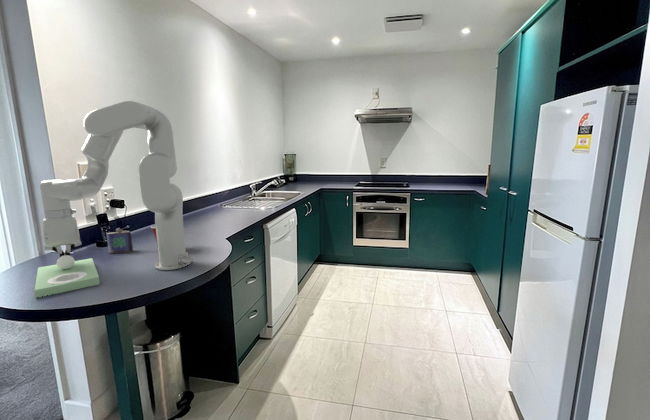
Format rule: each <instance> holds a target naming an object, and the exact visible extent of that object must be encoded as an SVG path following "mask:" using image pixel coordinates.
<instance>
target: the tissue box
mask: <svg viewBox="0 0 650 420" xmlns="http://www.w3.org/2000/svg"><path fill="white" fill-rule="evenodd" d="M99 285H101V281H100V275H99V274H98V270H97V267H96V265H95V262H94V260H93V258H92V257H91V258H86V259H85V258H84V259H78V260H75V263H74V265H73V266H72V267H71V268H69V269H60V268H59V267H58V266H57V263H56V264H52V265H51V264H50V265H46V266H38V267H37V272H36V280H35V286H34V294H35V295H34V296H35V298H36V299H38V298H37V297H39V298H43V297H48V296H53V295H56V294H61V293H65V292H66V293H67V292H70V291H75V290H79V289H84V288H89V287H93V286H99ZM52 294H53V295H52ZM47 295H48V296H47ZM42 296H43V297H42Z"/></svg>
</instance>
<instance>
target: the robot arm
mask: <svg viewBox="0 0 650 420" xmlns="http://www.w3.org/2000/svg"><path fill="white" fill-rule="evenodd" d="M82 125H83V128H84V130H85V131H86V132H87V133H88V135H87V138H86V139H85V142H84V144H83V146H82V147H81V152H82V154H83V155H84V156H85V157H86V159H87V166H86V169H85V171H84V173H83V175H82V177H80V178H73V179H66V180H64V179H47V180H42V181H41V182H40V183H39V189H40V195H41V201H42V207H43V212H44V218H43V219H42V236H43V243H44V251H52V252H55V253H57V254H58V255H59V258H60V257H61V256H64V255H69V256H71V251H72V250H73V249H75V247H79V246H81V245H82V241H81V237H80V236H81V235H80V231H79V226H78V222H77V219H76V216H75V215H73V214H76V213H77V209H73V208H72V206H71V202H74V201H75V202H76V201H79V200H80V201H81V200H83V199H89V198H93V197H94V196H96V195H98V193H99V192H100V190H101V189H102V187H103V186H104V183H105V181H106V179H107V178H108V174H109V167H110V166H109V165H110V164H109V161H110V159H111V156H113V152H114V151H115V149H116V147H117V144H118V143H119V141H120V139H121V138H122V135H123V133H124V131H126V130H128V129H129V130H130V129H141V130H145V131H147V148H148V154H145V155H144V156H143V157H142V158H141V160H140V162H139V165H138V178H139V186H140V194H141V199H142V202H143V205H144V206H145V208H146V209H147V210H148V211H150V212H152V213H154V223H155V224H154V225H155V226H156V236H157V241H156V243H157V244H156V245H157V252H158V261H157V262H156V263H155V264H154V268H155V269H156V270H159V271H172V270H173V271H174V270H177V269H182V267H183V268H185V266H186V267H188V266H189V265H190V264H192V261H193V260H194V257H193V256H189V253H188V252H187V251H186V241H185V240H186V239H185V238H186V237H185V229H184V217H183V205H184V204H183V202H184V197H183V193H182V191H181V188H180V187H179V186H178V185H176V184H174V183H172V182H171V180H170V179H171V178H173V177H174V176H175V175H176V173H177V167H178V166H177V159H176V150H175V149H176V147H175V143H174V142H175V141H174V132H173V127H172V124H171V121H170V120H169V118H168V117H167V116H166V115H165V114H164V113H163V112H161V111H160V110H158V109H156V108H154V107H152V106H150V105H146V104H144V103H140V102H138V101H133V100H128V101H127V100H126V101H122V102H119V103H114V104H112V105H108V106H104V107H101V108H97V109H95V110H92V111H90V112H88V113H87V114H86V115H85V116H84V119H83V124H82ZM62 246H66V248H65V250H63V249H62ZM64 251H65V252H64ZM187 265H188V266H187Z"/></svg>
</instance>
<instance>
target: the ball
mask: <svg viewBox="0 0 650 420" xmlns="http://www.w3.org/2000/svg"><path fill="white" fill-rule="evenodd" d="M75 261H76V260H75V259H74V257H73V256H72V255H70V256H69V255H64V256H61V257H60V256H59V258H57V260H56V264H57V266H58V267H59V268H60V269H69V268H71V267H72V266H73V265H74V263H75Z"/></svg>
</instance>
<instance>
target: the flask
mask: <svg viewBox="0 0 650 420" xmlns="http://www.w3.org/2000/svg"><path fill="white" fill-rule="evenodd" d="M105 235H106V242H107V247H108V248H107V250H108V253H109V254H120V253H129V252H130V253H131V252H133V251H134V249H133V242H132V234H131V231H130V230H121V227H118V228H116V229H115V232H114V231H113V232H107V233H106V234H105Z"/></svg>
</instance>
